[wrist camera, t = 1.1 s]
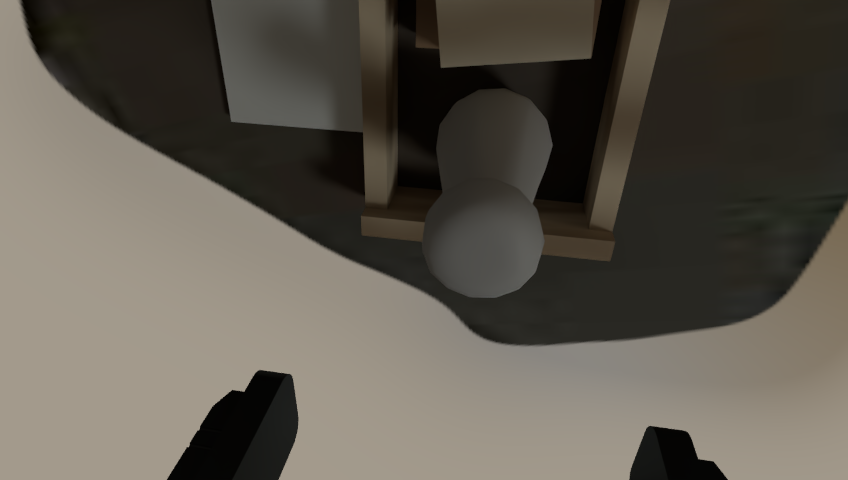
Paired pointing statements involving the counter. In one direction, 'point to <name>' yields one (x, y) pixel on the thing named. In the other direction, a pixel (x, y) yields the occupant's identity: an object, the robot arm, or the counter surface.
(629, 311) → the counter surface
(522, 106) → the salt shaker
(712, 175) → the counter surface
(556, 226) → the frame
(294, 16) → the coaster
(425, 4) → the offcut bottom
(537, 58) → the offcut top
